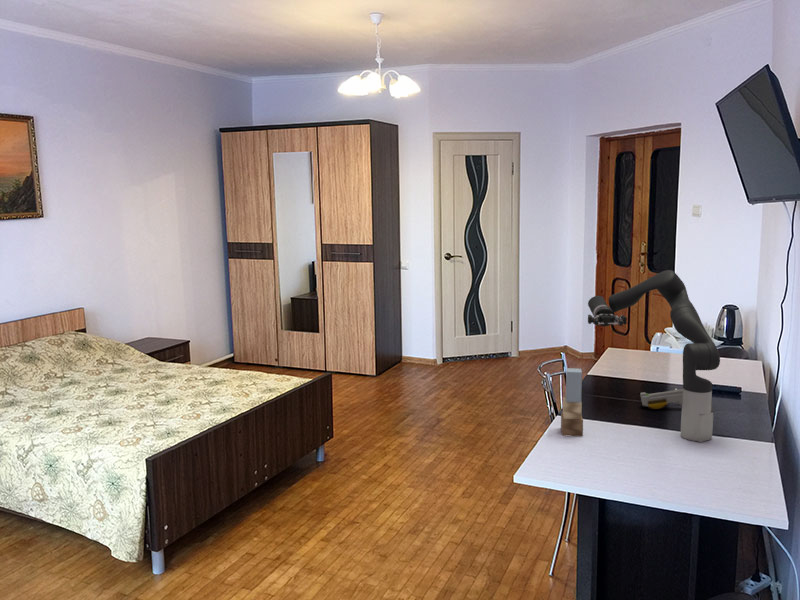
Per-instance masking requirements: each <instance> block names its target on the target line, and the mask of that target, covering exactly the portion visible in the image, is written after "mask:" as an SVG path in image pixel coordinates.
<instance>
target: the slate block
mask: <svg viewBox="0 0 800 600" xmlns="http://www.w3.org/2000/svg"><path fill="white" fill-rule="evenodd" d="M565 377H566V378H565V380H566V382H565V384H566V385H565V398H566V402H575V403H582V390H583V389H582V386H583V385H582V384H583V383H582V382H583V381H582V379H583V372H582V368H572V367H571V368H568V367H566V376H565Z"/></svg>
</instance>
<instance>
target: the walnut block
mask: <svg viewBox="0 0 800 600" xmlns="http://www.w3.org/2000/svg"><path fill="white" fill-rule="evenodd" d="M560 430H561V435H562V436H566V435H571V436H572V437H584V418H583V416H582V414H581V420H578V419H564V417H563V412H561V413H560Z"/></svg>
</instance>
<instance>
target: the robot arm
mask: <svg viewBox="0 0 800 600" xmlns="http://www.w3.org/2000/svg"><path fill="white" fill-rule="evenodd" d="M653 290H657V291H658V293H659V294H660V295H661V296H662V297H663V298H664V299H665V301H666V302H667V304H668V305H669V307H670V308H671V309H670V312H669V313H670V314H669V316H670V319H671V320H670V321H671V322H672V325H673V328H674V330H675V331H676V332H677V333H678V334H679V335H680V336H682V337H683V338H685V339H686V340H688V341H690V342H692V343H686V344H685V345H684V347H683V350H682V389H683V394H682V405H681V416H680V417H681V419H680V437H681V438H683V439H685V440H689V441H693V442H699V443H702V442H703V443H704V442H706V441H710V440H713V428H714V427H713V425H714V412H713V411H711V402H712V397H713V396H712V395H713V394H712V393H713V382H712V381H710V380H709V379H706V378H705V377H701V376H699V375H697V372H696V371H713V370H717V368H719V366H720V363H721V356H720V353H719V350H718V348H717V346H716V344H715V343H714V340H713V339H712V338H711V336H710V334H709V333H708V332H707V330H706V328H705V326H704V324H703V322H702V319H701V318H700V316H699V312H698V311H697V309H696V308H695V305H694V304H693V303H692V302H691V300H690V298H689V294H688V290H687V288H686V285H685V283H684V281H683V280H682V279H681V278H680V276H678V274H677V273H676V272H675V271H674V270H671V269H667V270H662V271H661V272H657V273H656V274H654V275H652V276H650V277H649V278H647V279H645V280H643V281H641V282H639V283H638V284H637V285H634V286H632V287H630V288H628V289H625V290H622V291H619V292H617V293H613V294H611V295H610V296H609V297H608V304H607V303H606V300H605V298H604V297H603V295H602V296H601V295H596V296H595V295H594V296H593V297H591V298H589V300H588V301H587V306H588V308H589V310H590V312H591V314H592V315H591V314H587V324H589V325H590V324H593V325H595V326H601V327H610V326H611V325H618V326H619V327H622V326H623V325H627V323H628V321H627V320H628V317H627V316H625V315H624V314H622V315H620V316H619V315H617V314H615V313H617V312H619V311H620V310H625V309H627V308H630V307H633V306H634V305H636V304H637V303H639V301H640V300H641V299H642V297H643V296H644V295H645V294H647V293H648V292H650V291H653Z"/></svg>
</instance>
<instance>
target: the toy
mask: <svg viewBox="0 0 800 600" xmlns="http://www.w3.org/2000/svg"><path fill="white" fill-rule="evenodd" d="M682 394H683V388H680V389H677V390H675V389H673V390H668V391H662V392H661V391H660V392H654V393H648V392H647V393H646V392H645V391H644V392H640V395H639V396H640V401H641V405H642V406H643V407H648V409H651V410H658V409H663V408H665V407H667V406H668V404H672V403H673V404H674V405H675V404H676V405H677V404H678V405H679V406H681V407H682ZM713 410H714V408H713V404H712V401H711V412H713Z"/></svg>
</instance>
